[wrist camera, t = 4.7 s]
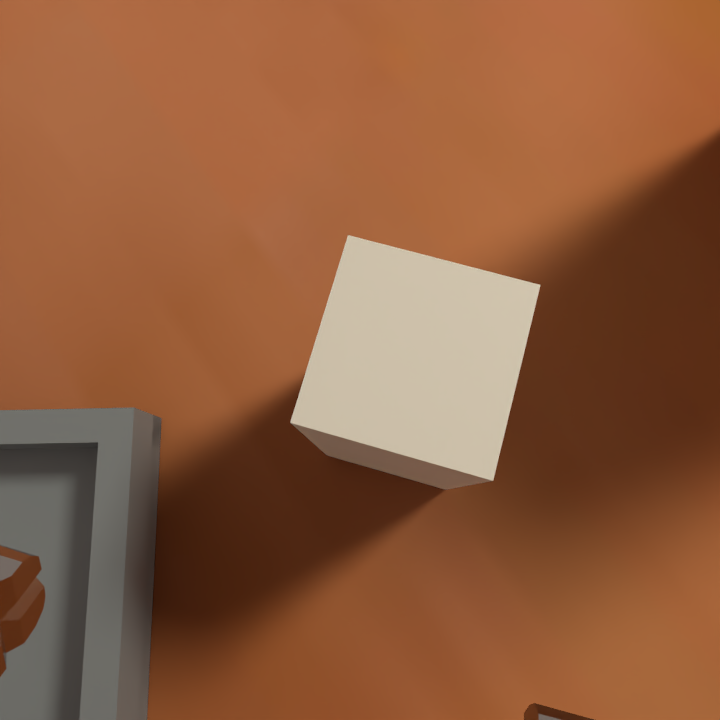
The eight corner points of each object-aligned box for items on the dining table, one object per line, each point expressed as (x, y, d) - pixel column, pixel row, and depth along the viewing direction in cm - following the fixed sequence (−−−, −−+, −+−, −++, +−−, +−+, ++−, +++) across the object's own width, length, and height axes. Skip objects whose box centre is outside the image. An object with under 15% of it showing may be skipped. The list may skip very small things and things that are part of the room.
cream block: (445, 489, 21) (493, 481, 12) (326, 455, 21) (289, 422, 13) (475, 372, 22) (540, 284, 13) (360, 341, 22) (348, 234, 13)
